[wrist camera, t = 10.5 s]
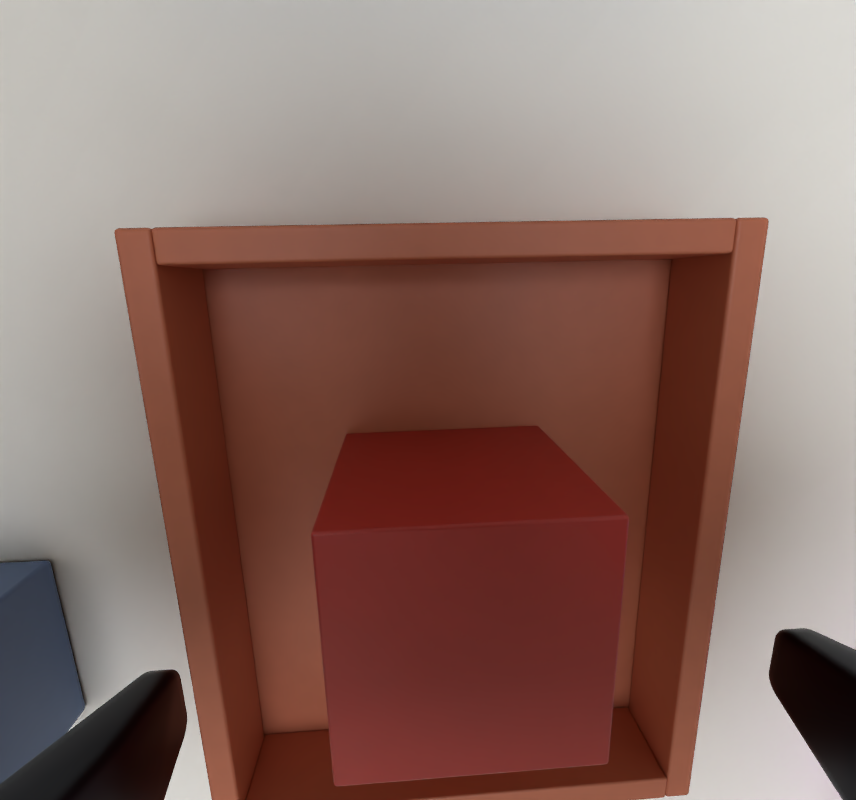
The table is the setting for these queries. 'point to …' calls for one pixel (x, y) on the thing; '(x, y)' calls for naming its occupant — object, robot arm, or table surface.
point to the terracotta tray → (437, 410)
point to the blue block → (33, 665)
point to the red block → (466, 605)
